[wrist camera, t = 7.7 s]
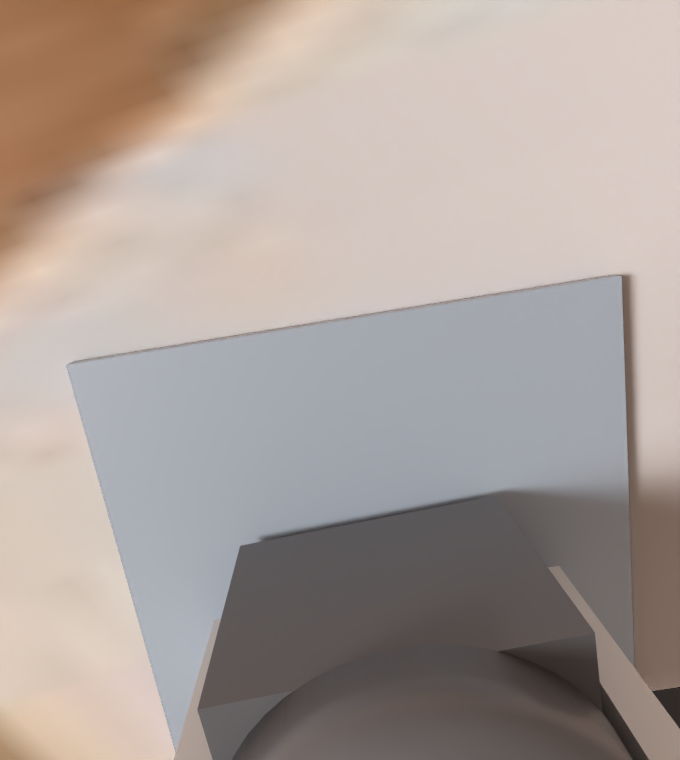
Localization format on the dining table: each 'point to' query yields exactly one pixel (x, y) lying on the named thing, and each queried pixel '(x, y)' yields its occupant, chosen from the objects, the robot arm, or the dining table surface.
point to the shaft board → (363, 447)
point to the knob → (404, 647)
